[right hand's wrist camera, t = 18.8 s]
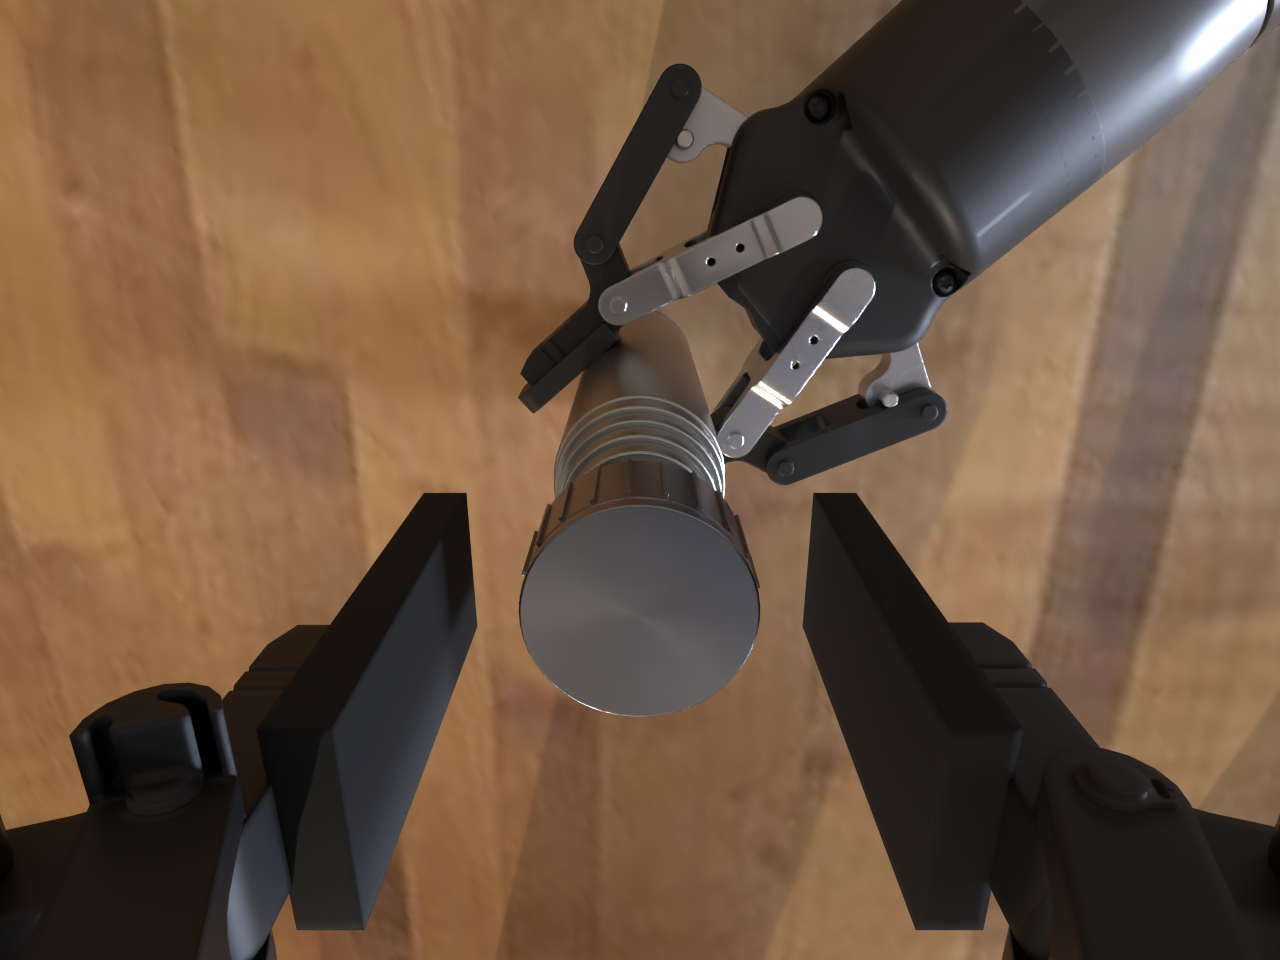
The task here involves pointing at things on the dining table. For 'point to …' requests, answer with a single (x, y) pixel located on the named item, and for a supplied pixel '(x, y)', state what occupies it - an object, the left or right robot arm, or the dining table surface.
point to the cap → (639, 590)
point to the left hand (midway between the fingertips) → (578, 450)
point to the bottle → (641, 408)
